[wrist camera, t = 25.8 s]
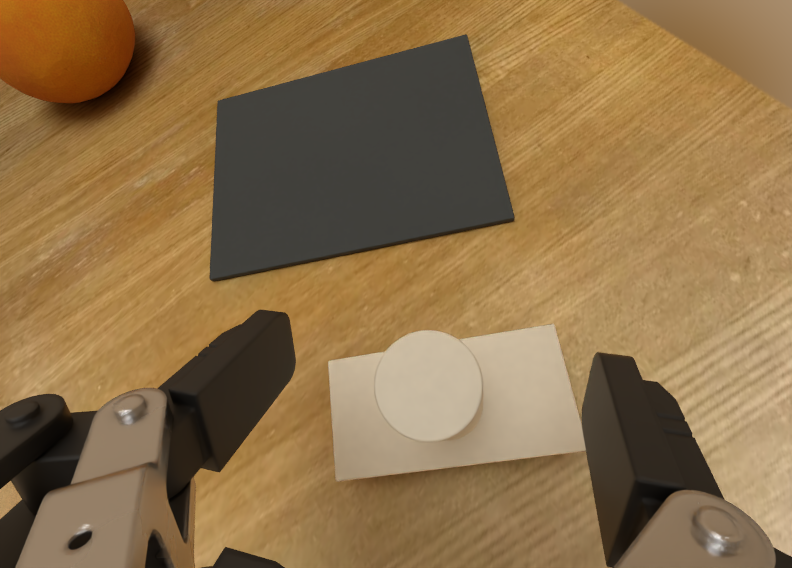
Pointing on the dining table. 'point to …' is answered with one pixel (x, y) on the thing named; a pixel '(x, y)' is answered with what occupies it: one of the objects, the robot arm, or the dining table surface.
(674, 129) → the dining table surface
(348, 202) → the scrub mat
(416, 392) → the cream block with cylinder
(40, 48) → the fruit
